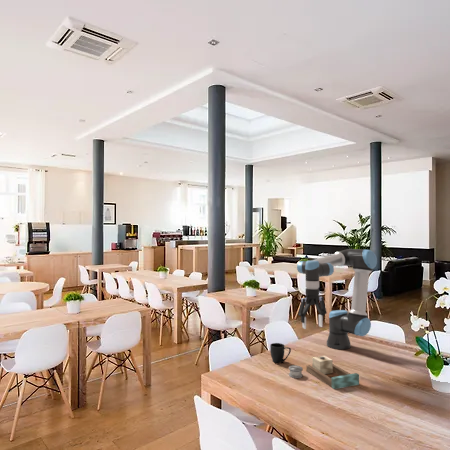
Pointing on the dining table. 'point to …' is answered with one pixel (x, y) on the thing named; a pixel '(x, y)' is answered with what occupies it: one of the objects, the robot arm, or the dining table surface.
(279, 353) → the mug
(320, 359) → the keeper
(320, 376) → the channel
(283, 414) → the dining table surface
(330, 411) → the dining table surface
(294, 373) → the gray yo-yo
